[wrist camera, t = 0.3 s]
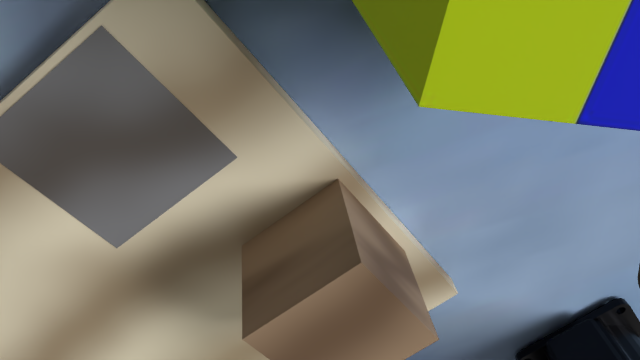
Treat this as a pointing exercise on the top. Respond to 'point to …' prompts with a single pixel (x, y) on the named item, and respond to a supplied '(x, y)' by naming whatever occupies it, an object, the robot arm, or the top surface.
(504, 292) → the top surface
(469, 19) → the puzzle toy
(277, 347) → the walnut block
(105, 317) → the board
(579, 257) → the top surface
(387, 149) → the top surface
